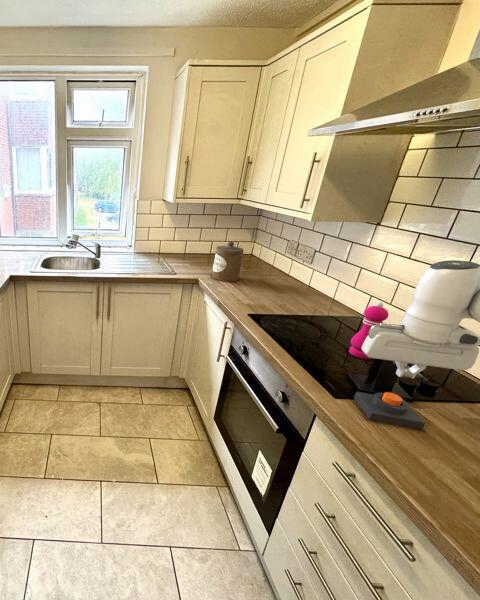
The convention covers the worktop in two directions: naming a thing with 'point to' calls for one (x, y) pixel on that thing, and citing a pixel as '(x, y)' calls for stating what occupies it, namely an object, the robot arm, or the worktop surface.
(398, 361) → the robot arm
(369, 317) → the pepper mill
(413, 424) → the button block
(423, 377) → the lever
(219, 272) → the wooden container
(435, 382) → the worktop surface
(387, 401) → the button
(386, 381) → the bracket
